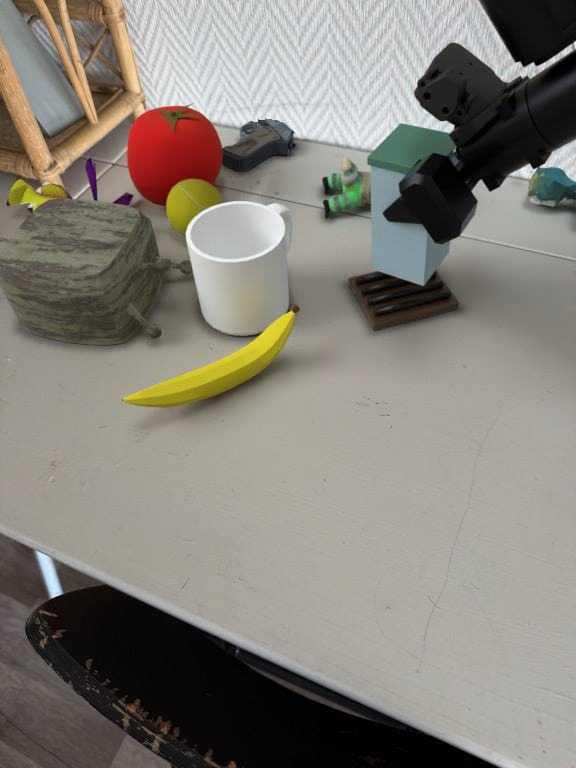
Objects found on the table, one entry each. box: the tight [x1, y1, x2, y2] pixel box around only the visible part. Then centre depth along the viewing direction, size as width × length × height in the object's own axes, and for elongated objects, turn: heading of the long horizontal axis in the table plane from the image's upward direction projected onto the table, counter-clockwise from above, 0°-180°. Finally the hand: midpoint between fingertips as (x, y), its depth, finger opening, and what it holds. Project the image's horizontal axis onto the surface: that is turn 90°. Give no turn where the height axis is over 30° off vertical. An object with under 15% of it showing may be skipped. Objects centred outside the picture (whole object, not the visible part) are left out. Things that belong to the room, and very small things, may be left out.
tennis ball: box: [165, 179, 224, 237], centre depth 74 cm, size 7×7×7 cm
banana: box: [121, 305, 301, 409], centre depth 58 cm, size 3×19×6 cm, turn 122°
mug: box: [185, 200, 293, 337], centre depth 64 cm, size 13×10×10 cm
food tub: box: [366, 122, 459, 286], centre depth 58 cm, size 6×6×13 cm
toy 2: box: [321, 157, 371, 219], centre depth 77 cm, size 10×7×15 cm
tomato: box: [126, 102, 223, 207], centre depth 78 cm, size 12×14×11 cm
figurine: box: [527, 166, 576, 207], centre depth 76 cm, size 12×9×8 cm
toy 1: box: [5, 153, 135, 214], centre depth 76 cm, size 12×19×10 cm
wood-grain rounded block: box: [0, 198, 193, 346], centre depth 66 cm, size 14×9×25 cm
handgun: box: [222, 118, 297, 172], centre depth 89 cm, size 2×14×12 cm
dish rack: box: [347, 269, 460, 332], centre depth 67 cm, size 10×8×2 cm
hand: (401, 197), depth 58 cm, fingers closed on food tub, 7 cm apart
